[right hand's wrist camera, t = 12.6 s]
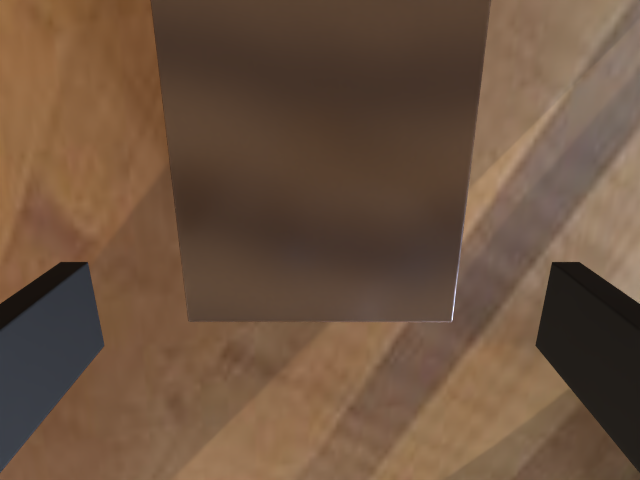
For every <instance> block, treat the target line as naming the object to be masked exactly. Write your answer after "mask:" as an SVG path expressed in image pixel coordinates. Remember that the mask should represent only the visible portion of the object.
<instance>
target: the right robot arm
mask: <svg viewBox="0 0 640 480" xmlns="http://www.w3.org/2000/svg"><path fill="white" fill-rule="evenodd" d="M103 347H104V341H103V336H102V331H101V326H100V321H99V316H98V311H97V306H96V301H95V296H94V291H93V286H92V281H91V276H90V271H89V266H88V262H60V263H59V264H57V265H56V266H54V267H53V268H52V269H50V270H49V271H47V272H46V273H44V274H43V275H41V276H40V277H39V278H37V279H36V280H34V281H33V282H31V283H30V284H28V285H27V286H26V287H24V288H23V289H21V290H20V291H18V292H17V293H15V294H14V295H13V296H11V297H10V298H8V299H7V300H5V301H4V302H2V303H1V304H0V473H1V471H2V470H3V469H4V468H5V466H6V465H7V464H8V463H9V462H10V460H11V459H12V458H13V457H14V455H15V454H16V453H17V452H18V451H19V449H20V448H21V447H22V446H23V444H24V443H25V442H26V441H27V440H28V438H29V437H30V436H31V435H32V433H33V432H34V431H35V430H36V429H37V427H38V426H39V425H40V424H41V422H42V421H43V420H44V419H45V418H46V416H47V415H48V414H49V413H50V411H51V410H52V409H53V408H54V407H55V405H56V404H57V403H58V402H59V401H60V399H61V398H62V397H63V396H64V394H65V393H66V392H67V391H68V390H69V388H70V387H71V386H72V385H73V383H74V382H75V381H76V380H77V379H78V377H79V376H80V375H81V374H82V372H83V371H84V370H85V369H86V368H87V366H88V365H89V364H90V363H91V361H92V360H93V359H94V358H95V357H96V355H97V354H98V353H99V352H100V350H101V349H102V348H103ZM536 347H537V348H538V349H539V350H540V352H541V353H542V354H543V355H544V357H545V358H546V359H547V360H548V361H549V363H550V364H551V365H552V366H553V368H554V369H555V370H556V371H557V372H558V374H559V375H560V376H561V377H562V379H563V380H564V381H565V382H566V383H567V385H568V386H569V387H570V388H571V390H572V391H573V392H574V393H575V394H576V396H577V397H578V398H579V399H580V401H581V402H582V403H583V404H584V405H585V407H586V408H587V409H588V410H589V411H590V413H591V414H592V415H593V416H594V418H595V419H596V420H597V421H598V422H599V424H600V425H601V426H602V427H603V429H604V430H605V431H606V432H607V433H608V435H609V436H610V437H611V438H612V440H613V441H614V442H615V443H616V444H617V446H618V447H619V448H620V449H621V451H622V452H623V453H624V454H625V455H626V457H627V458H628V459H629V460H630V462H631V463H632V464H633V465H634V466H635V468H636V469H637V470H638V471H639V473H640V304H639V303H638V302H636V301H635V300H633V299H632V298H630V297H629V296H627V295H626V294H625V293H623V292H622V291H620V290H619V289H617V288H616V287H614V286H613V285H612V284H610V283H609V282H607V281H606V280H604V279H603V278H601V277H600V276H599V275H597V274H596V273H594V272H593V271H591V270H590V269H588V268H587V267H586V266H584V265H583V264H581V263H580V262H552V266H551V271H550V276H549V281H548V286H547V291H546V296H545V301H544V306H543V311H542V316H541V321H540V326H539V331H538V336H537V341H536Z"/></svg>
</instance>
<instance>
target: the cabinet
mask: <svg viewBox="0 0 640 480" xmlns="http://www.w3.org/2000/svg"><path fill="white" fill-rule="evenodd" d="M490 4H491V0H151V7H152V16H153V24H154V33H155V41H156V50H157V58H158V67H159V75H160V84H161V92H162V101H163V109H164V118H165V126H166V135H167V143H168V152H169V160H170V169H171V177H172V186H173V194H174V203H175V212H176V220H177V229H178V237H179V246H180V254H181V263H182V271H183V280H184V288H185V297H186V305H187V314H188V321H189V322H452V320H453V311H454V303H455V295H456V286H457V278H458V270H459V262H460V253H461V245H462V237H463V228H464V220H465V212H466V203H467V195H468V187H469V179H470V170H471V162H472V154H473V145H474V137H475V129H476V120H477V112H478V104H479V95H480V87H481V79H482V71H483V62H484V54H485V46H486V37H487V29H488V21H489V12H490Z"/></svg>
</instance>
